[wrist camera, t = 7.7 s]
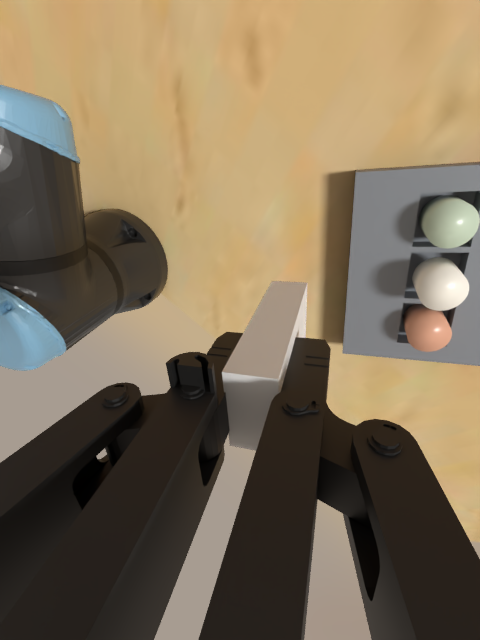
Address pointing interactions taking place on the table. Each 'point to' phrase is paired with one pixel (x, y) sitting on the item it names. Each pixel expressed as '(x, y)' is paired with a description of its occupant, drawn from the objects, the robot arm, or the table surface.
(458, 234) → the sage button
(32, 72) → the table surface
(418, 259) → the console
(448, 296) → the white egg
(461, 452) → the table surface
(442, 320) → the terracotta button
